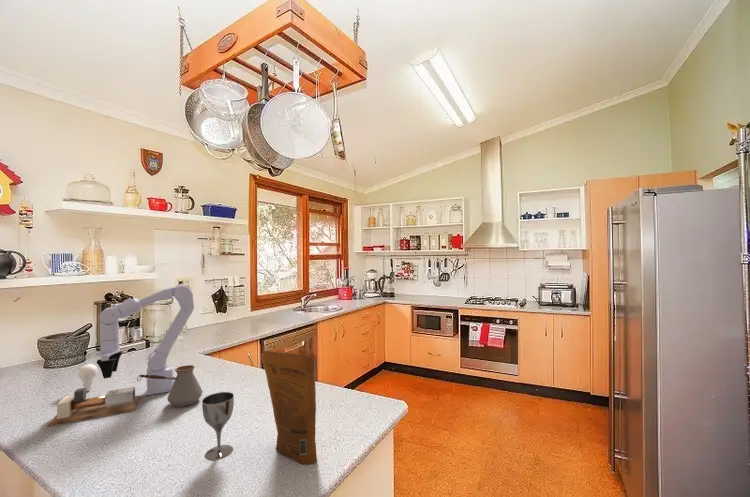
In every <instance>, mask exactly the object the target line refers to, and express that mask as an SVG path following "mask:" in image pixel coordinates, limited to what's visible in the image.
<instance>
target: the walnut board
mask: <svg viewBox="0 0 750 497" xmlns="http://www.w3.org/2000/svg"><path fill="white" fill-rule="evenodd" d="M140 400H141V394H140V395H135V401H134V403H133V404H132V405H126V406H121V407H115V408H110V409H105V404H104V405H99V406H93V407H87V408H82V409H76V410H75V411H74V412H73V413H72V414H71V415H70V417H66V418H61V419H57V414H56V415H55V416H54V417H53V418H52V419H51V420H50V421H49V422H48V426H47V427H52V426H59V425H63V424H70V423H75V422H80V421H84V420H86V421H87V420H90V419H97V418H100V417H101V418H102V417H107V416H112V415H116V414H117V415H118V414H122V413H128V412H134V410H135V409H136V407H137V405H138V403H139V402H140Z"/></svg>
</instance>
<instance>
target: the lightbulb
mask: <svg viewBox="0 0 750 497" xmlns="http://www.w3.org/2000/svg"><path fill="white" fill-rule="evenodd" d="M98 370H99V369H98V367H97V366H96V365H95V364H92V363H87V364H84V365H82V366H81V368H79V369H78V372H77V376H78V378H79V379H80V380H81V382H82V386H83V388H86V392H90V391H91V390H92V389H93V384H94V379H95V377H96V375H97V373H98Z"/></svg>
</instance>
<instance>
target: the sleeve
mask: <svg viewBox="0 0 750 497" xmlns="http://www.w3.org/2000/svg"><path fill="white" fill-rule="evenodd" d="M104 396H105V409H110V408H115V407H121V406H126V405H132V404H133V403H134V401H135V396H136V386H129V387H124V388H119V389H113V390H111V389H110V390H108V391H107V393H106V394H105V395H104Z"/></svg>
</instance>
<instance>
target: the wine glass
mask: <svg viewBox="0 0 750 497" xmlns="http://www.w3.org/2000/svg"><path fill="white" fill-rule="evenodd" d="M234 399H235V396H234V393H233V392H230V391H218V392H215V393H211V394H209V395H207V396H205V397H204V398H202V400H201V403H202V404H201V405H202V406H201V407H202V408H201V409H202V415H203V420H204V421H205V423H206V424H207V425H208V426H209V427H211V428H212V429H213V430H214V431H215V436H216V442H217V445H215V446H214V447H212V448H210V449H208V450H207V451H206V452H205V454H204V458H205V460H208V461H218V460H221V459H224V458H226V457H228V456H229V455H231V453H233V451H234V448H233V446H232V445H230V444H221V441H222V440H221V437H222V431H223V428H225V426H226V424H227V423H228V422H229V421H230V419H231V417H232V414H233V411H234V405H235V404H234V403H235V400H234Z"/></svg>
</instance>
